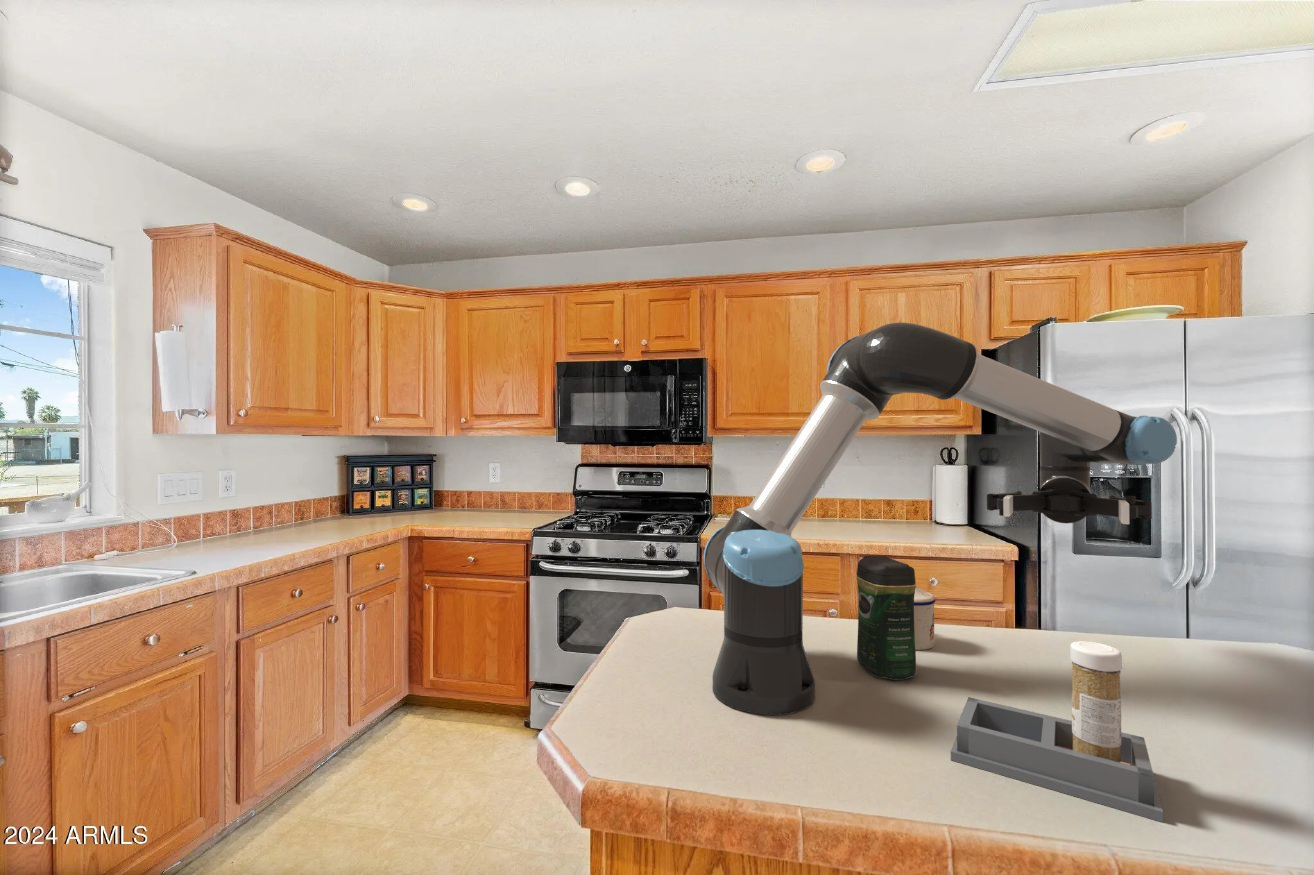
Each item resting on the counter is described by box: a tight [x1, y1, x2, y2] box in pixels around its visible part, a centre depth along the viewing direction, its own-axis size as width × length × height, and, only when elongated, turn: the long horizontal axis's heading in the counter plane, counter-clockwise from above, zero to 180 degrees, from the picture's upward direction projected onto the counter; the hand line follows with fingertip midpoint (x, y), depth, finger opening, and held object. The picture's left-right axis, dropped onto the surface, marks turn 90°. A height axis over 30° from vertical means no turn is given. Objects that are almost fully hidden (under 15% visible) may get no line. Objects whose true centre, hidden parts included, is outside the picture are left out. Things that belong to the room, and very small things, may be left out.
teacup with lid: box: [914, 585, 936, 651], centre depth 109 cm, size 12×9×12 cm
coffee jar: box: [856, 555, 917, 681], centre depth 94 cm, size 10×8×19 cm
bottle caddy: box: [950, 696, 1164, 823], centre depth 66 cm, size 19×11×4 cm, turn 54°
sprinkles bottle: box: [1069, 640, 1123, 762], centre depth 63 cm, size 5×5×13 cm
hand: (1063, 510), depth 80 cm, fingers open, 13 cm apart
